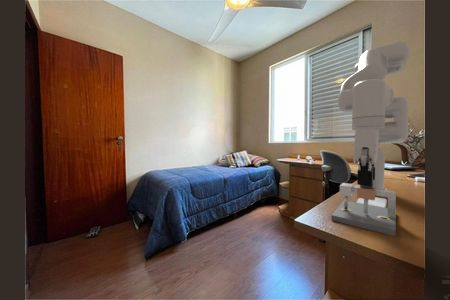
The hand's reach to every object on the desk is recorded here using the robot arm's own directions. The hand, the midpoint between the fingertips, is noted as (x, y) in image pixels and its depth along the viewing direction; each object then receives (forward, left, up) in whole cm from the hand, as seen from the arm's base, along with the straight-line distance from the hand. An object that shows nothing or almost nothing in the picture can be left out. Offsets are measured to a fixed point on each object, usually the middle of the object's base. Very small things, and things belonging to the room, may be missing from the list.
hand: (366, 182), depth 54 cm
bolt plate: (-2, 0, -11) cm, 11 cm away
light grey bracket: (-1, 0, -10) cm, 10 cm away
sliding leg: (0, 0, -9) cm, 9 cm away
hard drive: (-19, 0, -12) cm, 23 cm away
